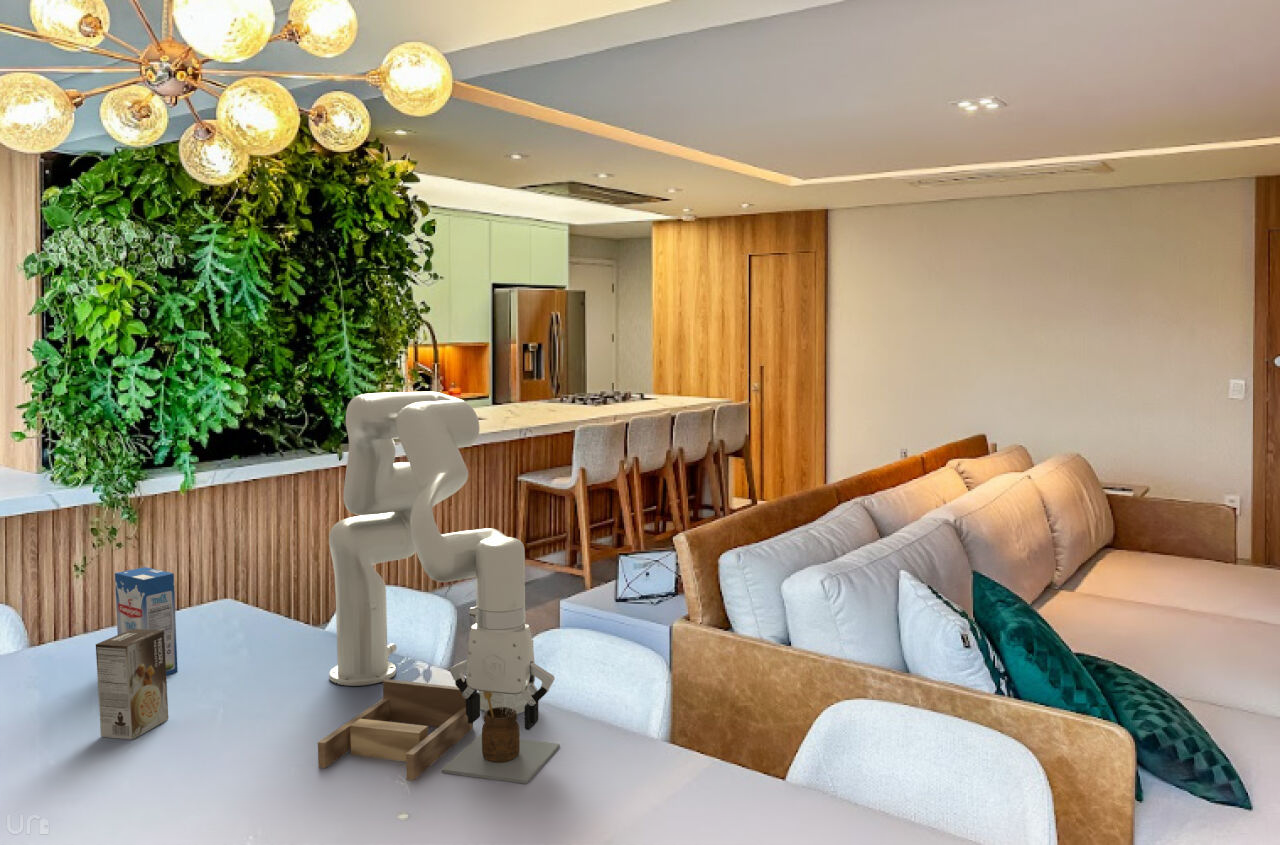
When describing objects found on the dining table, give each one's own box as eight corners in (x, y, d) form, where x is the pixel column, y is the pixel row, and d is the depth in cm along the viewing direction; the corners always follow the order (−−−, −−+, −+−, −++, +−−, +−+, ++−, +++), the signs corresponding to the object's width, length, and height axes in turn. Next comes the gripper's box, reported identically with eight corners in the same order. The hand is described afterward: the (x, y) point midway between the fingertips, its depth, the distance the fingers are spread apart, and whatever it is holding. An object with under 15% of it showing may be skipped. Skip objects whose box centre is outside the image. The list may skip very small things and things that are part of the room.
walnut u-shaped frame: (387, 718, 173) (386, 679, 173) (473, 728, 169) (472, 688, 168) (318, 767, 154) (317, 723, 153) (413, 780, 149) (412, 735, 149)
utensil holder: (503, 766, 153) (502, 691, 152) (472, 757, 156) (471, 683, 155) (527, 753, 158) (526, 679, 157) (497, 744, 161) (496, 672, 160)
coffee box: (137, 717, 174) (133, 627, 172) (169, 719, 172) (166, 629, 171) (98, 737, 165) (94, 643, 163) (132, 740, 164) (128, 645, 162)
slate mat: (480, 737, 165) (480, 734, 165) (559, 746, 161) (559, 743, 161) (441, 772, 152) (441, 769, 152) (526, 783, 148) (526, 780, 148)
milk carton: (177, 672, 197) (174, 573, 195) (148, 681, 192) (143, 579, 190) (148, 663, 202) (144, 566, 200) (119, 672, 197) (114, 573, 195)
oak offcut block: (360, 748, 161) (360, 718, 161) (428, 756, 158) (427, 726, 158) (350, 756, 158) (350, 725, 158) (419, 764, 155) (418, 733, 155)
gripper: (439, 619, 153) (441, 726, 155) (544, 628, 149) (544, 739, 150) (461, 606, 161) (462, 709, 162) (561, 615, 156) (562, 720, 157)
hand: (502, 723), depth 156 cm, fingers open, 9 cm apart
